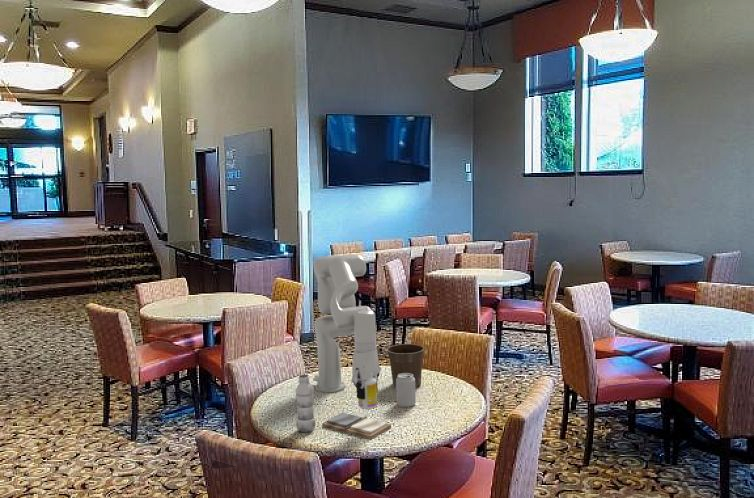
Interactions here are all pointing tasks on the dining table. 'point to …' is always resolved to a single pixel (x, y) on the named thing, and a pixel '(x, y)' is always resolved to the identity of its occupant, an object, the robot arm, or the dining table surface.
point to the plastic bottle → (305, 404)
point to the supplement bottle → (369, 394)
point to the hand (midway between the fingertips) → (367, 395)
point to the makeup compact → (356, 425)
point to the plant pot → (406, 361)
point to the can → (405, 390)
